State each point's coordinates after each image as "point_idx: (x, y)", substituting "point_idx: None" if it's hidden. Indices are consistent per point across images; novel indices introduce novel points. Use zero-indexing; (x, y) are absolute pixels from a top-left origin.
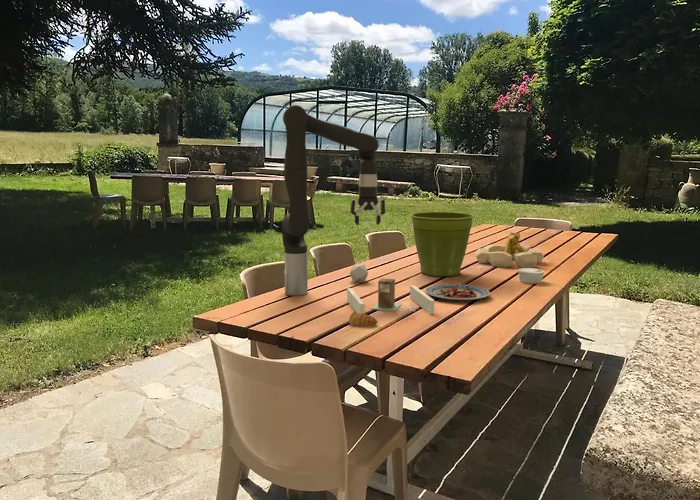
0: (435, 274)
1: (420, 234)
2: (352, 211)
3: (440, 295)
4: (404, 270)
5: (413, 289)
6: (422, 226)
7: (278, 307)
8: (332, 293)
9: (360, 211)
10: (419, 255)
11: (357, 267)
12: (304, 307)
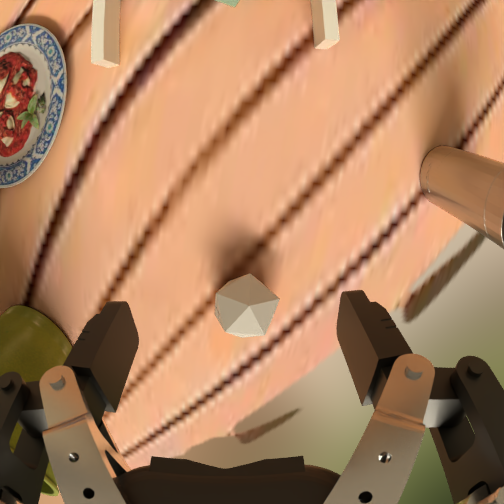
0: (40, 314)
1: None
2: (488, 385)
3: (40, 92)
4: None
5: (105, 28)
6: None
7: (481, 58)
8: (357, 149)
9: (388, 412)
10: None
11: (255, 305)
12: (436, 31)
